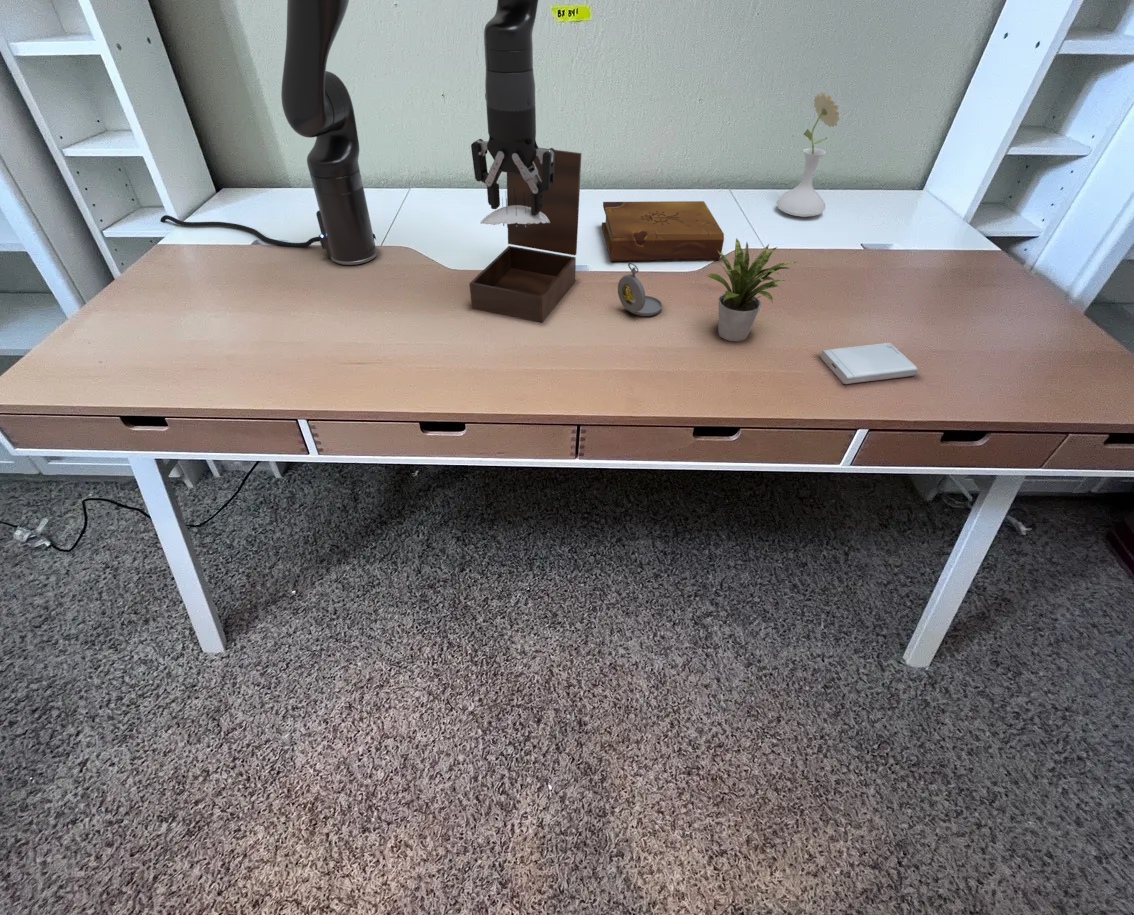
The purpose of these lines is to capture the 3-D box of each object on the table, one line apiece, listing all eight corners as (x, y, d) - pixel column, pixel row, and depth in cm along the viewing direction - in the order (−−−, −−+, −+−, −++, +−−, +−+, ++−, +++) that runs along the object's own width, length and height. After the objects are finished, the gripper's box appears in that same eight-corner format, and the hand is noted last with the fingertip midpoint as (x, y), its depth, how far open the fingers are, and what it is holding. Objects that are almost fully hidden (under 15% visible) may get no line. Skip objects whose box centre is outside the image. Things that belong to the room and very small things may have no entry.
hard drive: (889, 341, 106) (822, 348, 104) (918, 368, 100) (848, 376, 98) (885, 349, 107) (819, 357, 105) (914, 377, 101) (844, 385, 99)
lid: (580, 153, 109) (581, 153, 110) (506, 144, 112) (507, 143, 113) (575, 255, 120) (576, 254, 121) (507, 244, 124) (509, 242, 124)
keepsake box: (542, 322, 112) (542, 297, 109) (471, 308, 116) (469, 283, 112) (575, 281, 124) (575, 257, 121) (510, 269, 128) (508, 245, 124)
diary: (611, 263, 130) (612, 236, 126) (601, 227, 144) (603, 201, 140) (720, 261, 131) (724, 234, 127) (700, 225, 145) (704, 200, 141)
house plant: (757, 369, 102) (782, 276, 91) (680, 344, 107) (694, 253, 96) (784, 330, 111) (810, 241, 100) (711, 309, 116) (728, 222, 105)
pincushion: (480, 233, 105) (478, 199, 101) (480, 219, 110) (477, 186, 106) (551, 231, 106) (551, 197, 103) (548, 217, 111) (548, 184, 107)
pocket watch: (665, 303, 118) (671, 252, 111) (655, 325, 112) (661, 273, 105) (623, 296, 120) (627, 246, 113) (611, 317, 114) (614, 265, 107)
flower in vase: (829, 221, 147) (864, 103, 130) (780, 221, 147) (809, 102, 130) (813, 201, 157) (844, 88, 140) (768, 200, 157) (793, 87, 140)
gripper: (563, 101, 96) (562, 209, 107) (479, 91, 100) (486, 197, 111) (545, 113, 91) (546, 225, 102) (457, 103, 94) (467, 212, 106)
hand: (515, 210), depth 107 cm, fingers closed on pincushion, 7 cm apart
